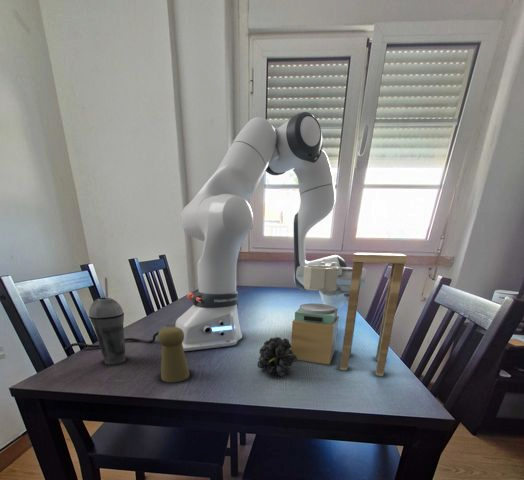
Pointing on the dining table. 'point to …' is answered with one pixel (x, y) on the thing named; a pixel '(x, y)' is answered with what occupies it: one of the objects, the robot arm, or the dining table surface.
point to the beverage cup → (109, 328)
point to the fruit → (276, 356)
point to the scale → (314, 333)
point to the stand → (389, 309)
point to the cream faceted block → (320, 277)
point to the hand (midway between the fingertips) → (328, 264)
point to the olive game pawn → (173, 355)
